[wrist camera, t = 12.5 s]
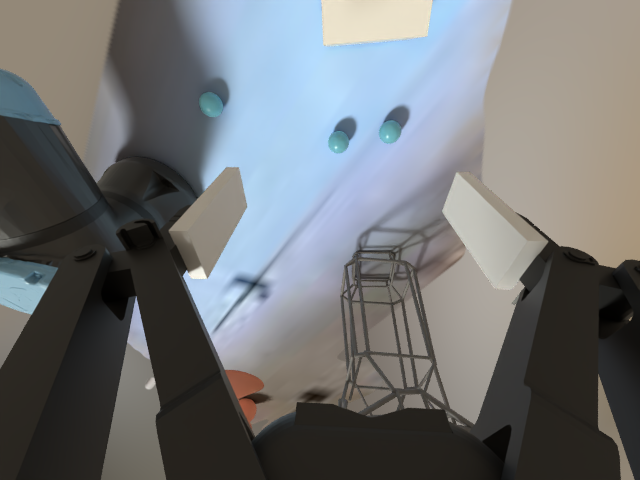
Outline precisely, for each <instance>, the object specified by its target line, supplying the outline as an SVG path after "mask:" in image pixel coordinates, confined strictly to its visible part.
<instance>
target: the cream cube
mask: <svg viewBox="0 0 640 480" xmlns="http://www.w3.org/2000/svg"><path fill="white" fill-rule="evenodd" d="M321 1H322V24H323V45H324V46H327V47H330V46H342V45H354V44H365V43H377V42H389V41H400V40H408V39H414V38H420V37H426V36H427V33H428V27H429V21H430V14H431V8H432V2H433V0H321Z"/></svg>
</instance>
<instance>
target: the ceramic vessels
mask: <svg viewBox="0 0 640 480" xmlns="http://www.w3.org/2000/svg"><path fill="white" fill-rule="evenodd" d="M225 372H226V374H227V377H228V379H229V381H230V383H231V386H232V388H233V390H234V392H235V395H236V397H237V399H239V398H242V397H244V396H247V395H249V394H252V393H255V392H257V391H260V390H261V389H263V387H264V384H263V382H262V381H261V380H260V379H259V378H257V377H256V376H253V375H251V374H248V373H245V372H241V371H236V370H225ZM239 404H240V406H241V408H242V410H243V412H244V414H245V416H246V418H247V420H248V423H249V425H250V427H251V424H250V421H251V420H252V419H253V418H254V416H255V414H256V405H255V403H254V402H253V400H251V399H247V398H243V399H241V400H239ZM251 429H252V427H251Z"/></svg>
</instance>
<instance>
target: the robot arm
mask: <svg viewBox="0 0 640 480" xmlns="http://www.w3.org/2000/svg"><path fill="white" fill-rule="evenodd" d="M60 125H61V123H60V122H59V121H58V120H57V119H55V118H54V117H53V115H52V114H51V112H50V111H49V109H48V108H47V107H46V105H45V104H44V103H43V101H42V100H41V98H40V97H39V95H38V94H37V93H36V91H35V90H34V88H32V86H31V85H30V84H29V83H28V82H26V81H25V80H24V79H22V78H21V77H19V76H17V75H16V74H14V73H11V72H9V71H6V70H3V69H0V304H2V305H4V306H7V307H9V308H12V309H15V310H18V311H21V312H25V313H28V314H32V315H31V317H30V318H29V320H28V322H27V324H26V325H25V327H24V329H23V331H22V332H21V334H20V336H19V338H18V339H17V341H16V343H15V345H14V346H13V348H12V350H11V351H10V353H9V355H8V357H7V358H6V360H5V362H4V364H3V365H2V367H1V369H0V480H101V475H102V469H103V463H104V459H105V454H106V449H107V443H108V438H109V433H110V428H111V422H112V417H113V412H114V407H115V402H116V396H117V391H118V386H119V381H120V376H121V370H122V366H123V360H124V355H125V350H126V345H127V340H128V334H129V329H130V324H131V319H132V314H133V308H134V303H135V298H136V296H137V301H138V305H139V310H140V314H141V319H142V323H143V328H144V332H145V337H146V341H147V346H148V350H149V355H150V360H151V364H152V369H153V373H154V378H155V382H156V387H157V391H158V395H159V400H160V406H161V408H160V411H159V413H158V414H157V415H156V427H157V434H158V439H159V444H160V449H161V455H162V460H163V464H164V470H165V475H166V480H621V477H620V456H619V451H618V447H617V445H616V443H615V442H614V440H613V439H612V438H611V437H609V436H607V435H606V434H604V433H603V432H601V431H599V429H598V374H599V377H600V379H601V382H602V385H603V388H604V391H605V394H606V397H607V400H608V403H609V406H610V409H611V412H612V414H613V417H614V420H615V423H616V426H617V429H618V432H619V435H620V438H621V440H622V444H623V446H624V450H625V452H626V455H627V458H628V461H629V464H630V467H631V470H632V473H633V476H634V479H635V480H640V261H637V260H625V261H624V262H623V263H622V264H620V265H619V266H618V267H617V268H611V267H606V266H601V265H599V264H598V262H597V261H596V260H595V259H594V258H593V257H592V256H590V255H588V254H587V253H585V252H582V251H580V250H578V249H574V248H571V247H563V246H561V247H560V246H558V245H557V244H556V243H555V242H554V241H552V240H551V239H550V238H549V237H548V236H547V235H546V234H544V233H543V232H542V231H540V229H539V228H537V227H536V226H534V224H533V223H532V222H530V221H529V220H528V219H527V218H525V217H523V216H522V215H520V214H518V213H516V212H514V211H513V210H512V209H511V208H510V207H509V206H508V205H506V204H505V203H504V202H503V201H502V200H501V199H500V198H498V197H497V196H496V195H495V194H494V193H493V192H492V191H490V190H489V189H488V188H487V187H486V186H485V185H484V184H483V183H482V182H480V181H479V180H478V179H477V178H476V177H475V176H474V175H472V174H471V173H470V172H457V173H456V175H455V178H454V181H453V183H452V186H451V189H450V192H449V194H448V197H447V200H446V202H445V205H444V208H443V210H442V212H443V214H444V215H445V217H446V218H447V220H448V221H449V223H450V224H451V226H452V227H453V229H454V230H455V231H456V233H457V234H458V236H459V237H460V239H461V240H462V242H463V243H464V245H465V246H466V248H467V249H468V251H469V252H470V253H471V255H472V256H473V258H474V259H475V261H476V262H477V264H478V265H479V267H480V268H481V269H482V271H483V272H484V274H485V275H486V277H487V278H488V280H489V281H490V283H491V284H492V286H493V287H494V289H507V290H512V289H513V288H514V287H515V285H516V284H517V283H518V281H519V280H520V281H521V282H522V283H523V284H524V286H525V287H524V289H523V290H522V291H521V292H520V294H519V295H518V296H517V297H516V299H515V300H514V301H513V302H512V304H513V305H515V304H516V303H517V304H516V307H515V310H514V313H513V316H512V319H511V322H510V325H509V328H508V331H507V334H506V337H505V340H504V343H503V346H502V349H501V352H500V355H499V358H498V361H497V364H496V367H495V370H494V373H493V376H492V378H491V382H490V385H489V388H488V390H487V393H486V396H485V399H484V402H483V405H482V408H481V411H480V414H479V417H478V420H477V421H476V423H475V425H474V426H473V428H472V429H471V431H470V432H468V431H467V430H465V429H463V428H462V427H460V426H458V425H456V424H454V423H451V422H449V421H448V418H447V415H446V412H445V410H441V409H440V410H439V409H421V408H420V409H419V408H406V409H402V410H399V411H395V412H391V413H388V414H384V415H381V416H377V417H367V416H364V415H362V414H359V413H356V412H353V411H350V410H348V409H345V408H342V407H339V406H337V405H334V404H321V403H301V402H297V406H296V412H293V413H290V414H287V415H285V416H282V417H280V418H279V419H277V420H275V421H274V422H272V423H271V424H269V425H268V426H267V427H265V428H264V429H263V430H262V431H261V432H260V433H259V434H258V435H257V436H256V437H255V436H254V434H253V431H252V429H251V427H250V425H249V423H248V420H247V418H246V416H245V414H244V412H243V410H242V408H241V406H240V404H239V401H238V399H237V397H236V395H235V392H234V390H233V388H232V386H231V383H230V381H229V379H228V377H227V374H226V372H225V370H224V368H223V365H222V363H221V361H220V359H219V356H218V354H217V352H216V350H215V347H214V345H213V343H212V341H211V338H210V336H209V334H208V332H207V329H206V327H205V325H204V323H203V320H202V318H201V316H200V314H199V311H198V309H197V307H196V305H195V303H194V300H193V298H192V296H191V294H190V291H189V289H188V287H187V285H186V282H185V280H184V278H183V275H184V273H185V272H186V270H187V271H188V273H189V275H190V277H191V279H208V277H209V275H210V273H211V271H212V270H213V268H214V266H215V264H216V262H217V261H218V259H219V257H220V255H221V253H222V252H223V250H224V248H225V246H226V244H227V242H228V241H229V239H230V237H231V235H232V233H233V232H234V230H235V228H236V226H237V224H238V223H239V221H240V219H241V217H242V215H243V213H244V212H245V210H246V208H247V203H246V199H245V194H244V189H243V184H242V180H241V175H240V170H239V168H238V167H226V168H225V170H224V171H223V172H222V173H221V174H220V175H219V176H218V177H217V178H216V179H215V180H214V182H213V183H212V184H211V185H210V186H209V187H208V188H207V189H206V190H205V191H204V192H203V194H202V195H201V196H200V197H199V198H198V199H197V198H196V196H195V194H194V192H193V191H192V189H191V188H190V186H189V185H188V184H187V182H186V181H185V180H184V179H183V178H182V177H181V176H180V175H179V174H177V173H176V172H175V171H173V170H172V169H171V168H169V167H167V166H166V165H164V164H162V163H160V162H157V161H155V160H152V159H148V158H144V157H129V158H125V159H123V160H121V161H119V162H117V163H115V164H113V165H111V166H110V167H109V168H108V169H107V170H106V171H105V172H104V174H103V176H102V177H101V179H100V180H99V181H98V183H97V184H96V182H95V181H94V179H93V177H92V176H91V174H90V173H89V171H88V170H87V168H86V167H85V165H84V163H83V162H82V160H81V159H80V157H79V156H78V154H77V153H76V151H75V149H74V148H73V146H72V144H71V143H70V141H69V140H68V138H67V136H66V135H65V133H64V132H63V130H62V128H61V127H60ZM632 316H633V317H632ZM631 317H632V319H631V321H629V319H630V318H631Z"/></svg>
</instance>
